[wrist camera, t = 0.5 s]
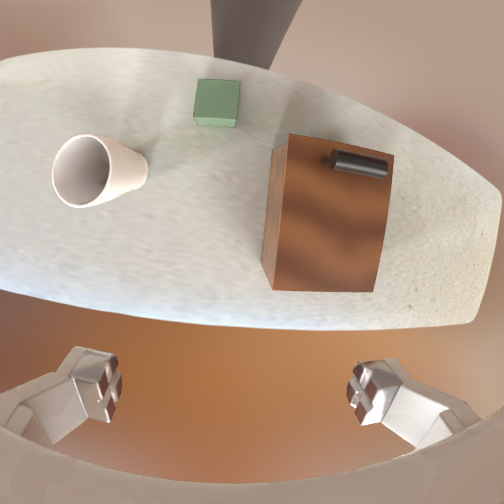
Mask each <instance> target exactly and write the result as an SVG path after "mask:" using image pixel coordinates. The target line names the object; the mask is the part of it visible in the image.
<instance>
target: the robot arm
mask: <svg viewBox="0 0 504 504" xmlns="http://www.w3.org/2000/svg"><path fill="white" fill-rule="evenodd" d="M117 366H118V360H117V356H116V355H115V354H113V353H107V352H103V351H98V350H93V349H87V348H83V347H79V346H76V347H73V348H72V350H71V351H70V352H69V354H68V355H67V357H66V358H65V359H64V361H63V362H62V364H61V365H60V366H59V368H58V369H57V371H56V372H55V373H54V372H50V373H48V374H45V375H43V376H41V377H38V378H36V379H34V380H32V381H29V382H27V383H25V384H22V385H20V386H17V387H15V388H13V389H10V390H8V391H6V392H3V393H1V394H0V504H504V407H502V408H500V409H499V410H497V411H496V412H494V413H492V414H491V415H489V416H487V417H486V418H484V419H482V420H481V419H480V418H479V417H478V415H477V414H476V413H475V412H474V411H473V410H472V409H471V407H470V406H469V405H468V404H467V403H466V402H464V401H462V400H460V399H458V398H455V397H453V396H451V395H448V394H446V393H444V392H441V391H439V390H437V389H434V388H432V387H430V386H427V385H425V384H423V383H421V382H418V381H417V382H415V381H414V380H413V379H412V378H411V377H410V375H409V374H408V373H407V372H406V371H405V369H404V368H403V367H402V366H401V365H400V364H399V362H398V361H397V360H396V359H394V358H386V359H381V360H374V361H365V362H358V363H357V364H356V365H355V367H354V369H353V373H354V375H355V376H354V377H353V378H352V379H351V380H350V381H349V383H348V386H347V398H348V401H349V403H350V404H351V405H352V406H354V407H355V408H356V410H355V414H356V416H357V418H358V420H359V422H360V424H361V425H366V424H371V423H377V422H381V423H382V424H384V425H385V426H387V427H388V428H389V429H391V430H392V431H394V432H395V433H397V434H398V435H399V436H401V437H402V438H404V439H405V440H407V441H408V442H409V443H411V444H412V445H414V446H415V447H416V448H415V449H414V451H413V452H411V453H408V454H405V455H402V456H399V457H396V458H393V459H390V460H387V461H384V462H380V463H377V464H373V465H370V466H366V467H362V468H358V469H354V470H350V471H345V472H341V473H336V474H330V475H325V476H320V477H313V478H306V479H300V480H291V481H281V482H267V483H247V484H245V483H243V484H227V483H201V482H188V481H178V480H169V479H162V478H155V477H148V476H143V475H138V474H132V473H127V472H123V471H119V470H114V469H110V468H106V467H103V466H99V465H95V464H92V463H88V462H85V461H82V460H79V459H76V458H73V457H70V456H67V455H64V454H62V453H59V452H57V450H56V448H55V447H54V445H53V444H55V443H56V442H57V441H59V440H60V439H61V438H63V437H64V436H65V435H67V434H68V433H69V432H71V431H72V430H73V429H75V428H76V427H77V426H79V425H80V424H81V423H83V422H84V421H85V420H87V418H91V419H96V420H100V421H105V422H111V419H112V417H113V414H114V411H115V406H114V402H116V401H117V400H119V398H120V395H121V388H122V381H121V380H122V379H121V374H120V373H119V372H118V371H117V370H116V368H117Z"/></svg>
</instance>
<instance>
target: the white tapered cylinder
mask: <svg viewBox="0 0 504 504" xmlns="http://www.w3.org/2000/svg"><path fill="white" fill-rule="evenodd" d="M148 172H149V167H148V163H147V161H146V159H145V158H144V156H143V155H141V154H140V153H138V152H135V151H133V150H131V149H129V148H127V147H126V146H124V145H122V144H121V143H119V142H117V141H115V140H113V139H111V138H108V137H105V136H102V135H97V134H91V133H81V134H78V135H75V136H73V137H71V138H70V139H68V140H67V141H66V142H65V143H64V144H63V145H62V146H61V148H60V149H59V151H58V153H57V155H56V157H55V160H54V163H53V168H52V179H53V185H54V188H55V190H56V192H57V194H58V196H59V197H60V198H61V199H62V200H63V201H64V202H65V203H66V204H68V205H70V206H73V207H78V208H82V207H89V206H94V205H98V204H102V203H105V202H108V201H110V200H112V199H114V198H116V197H118V196H120V195H122V194H125V193H127V192H129V191H132V190H135V189H138V188H139V187H141V186H142V185H143V184H144V182H145V181H146V179H147V177H148Z"/></svg>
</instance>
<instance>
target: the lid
mask: <svg viewBox="0 0 504 504" xmlns="http://www.w3.org/2000/svg"><path fill="white" fill-rule="evenodd" d="M393 163H394V155H391V154H387V153H383V152H379V151H375V150H371V149H367V148H362V147H358V146H354V145H349V144H344V143H339V142H334V141H329V140H324V139H318V138H313V137H307V136H300V135H294V134H288V135H287V144H286V155H285V166H284V176H283V186H282V196H281V206H280V215H279V224H278V234H277V243H276V251H275V260H274V268H273V277H272V285H271V288H272V290H280V291H312V292H373V289H374V285H375V280H376V276H377V271H378V266H379V262H380V256H381V251H382V246H383V240H384V234H385V228H386V222H387V215H388V208H389V201H390V193H391V184H392V174H393Z"/></svg>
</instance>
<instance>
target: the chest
mask: <svg viewBox="0 0 504 504" xmlns="http://www.w3.org/2000/svg"><path fill="white" fill-rule="evenodd" d="M286 144H287V143H286ZM286 144H284V145H282V146H280V147H279V148H277V149H275V150H273V151H272V158H271V168H270V179H269V189H268V199H267V209H266V219H265V229H264V239H263V249H262V259H261V264H262V267H263V269H264V272H265V274H266V276H267V279H268V281H269V283H270V286H271V285H272V277H273V268H274V260H275V251H276V243H277V234H278V224H279V215H280V206H281V196H282V186H283V176H284V166H285V155H286Z"/></svg>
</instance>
